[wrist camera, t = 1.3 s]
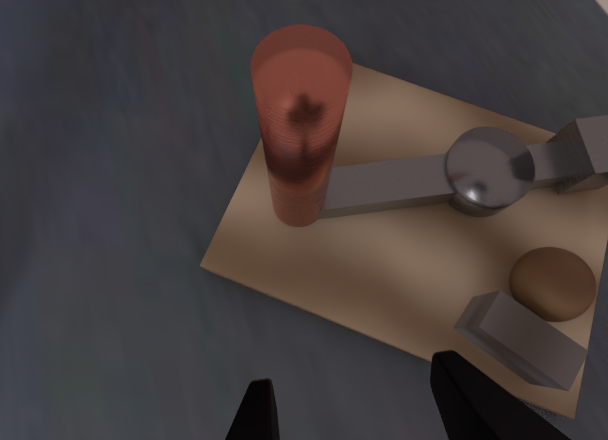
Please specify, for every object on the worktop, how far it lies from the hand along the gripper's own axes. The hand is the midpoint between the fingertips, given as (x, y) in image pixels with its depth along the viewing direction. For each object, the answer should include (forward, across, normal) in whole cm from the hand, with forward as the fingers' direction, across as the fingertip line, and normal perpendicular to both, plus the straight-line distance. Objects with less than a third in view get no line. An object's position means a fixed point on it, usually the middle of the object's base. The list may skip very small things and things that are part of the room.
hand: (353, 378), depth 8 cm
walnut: (+10, -12, +8) cm, 17 cm away
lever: (+14, -8, +3) cm, 16 cm away
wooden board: (+14, -7, +5) cm, 17 cm away
